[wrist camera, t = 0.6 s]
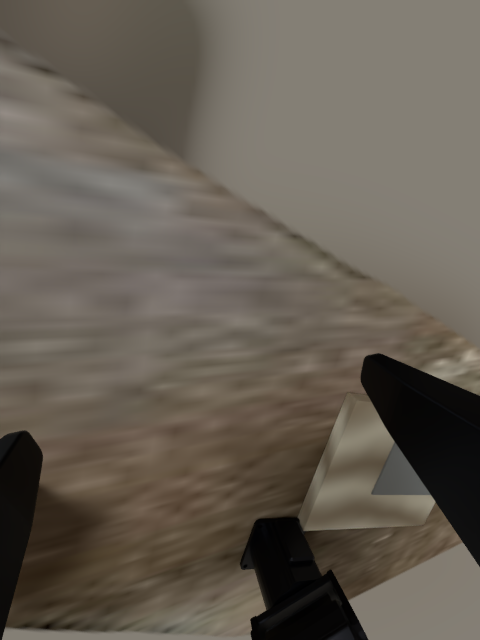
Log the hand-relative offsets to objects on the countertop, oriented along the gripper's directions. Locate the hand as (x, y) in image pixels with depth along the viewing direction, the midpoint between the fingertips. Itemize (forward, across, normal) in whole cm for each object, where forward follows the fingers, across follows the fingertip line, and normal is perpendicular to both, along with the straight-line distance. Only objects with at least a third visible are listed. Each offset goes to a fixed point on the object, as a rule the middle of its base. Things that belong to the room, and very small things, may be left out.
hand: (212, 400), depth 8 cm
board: (+11, -19, +27) cm, 35 cm away
